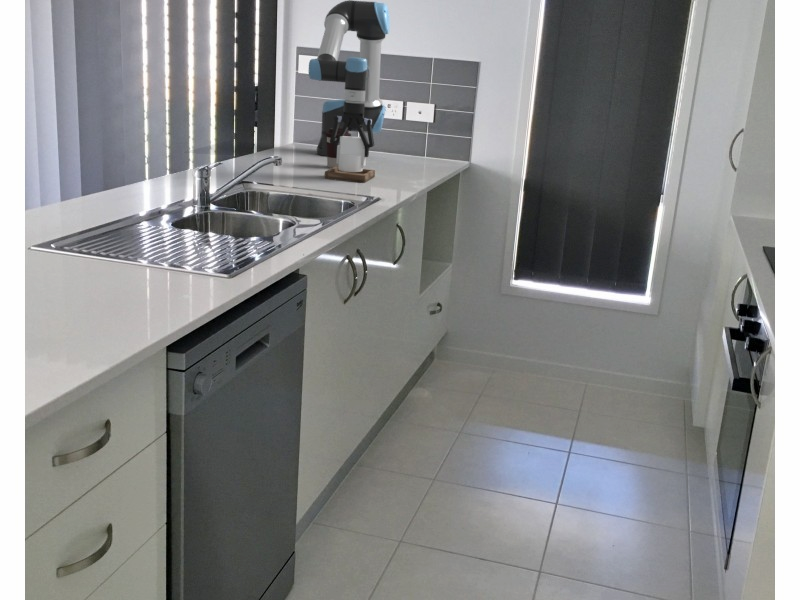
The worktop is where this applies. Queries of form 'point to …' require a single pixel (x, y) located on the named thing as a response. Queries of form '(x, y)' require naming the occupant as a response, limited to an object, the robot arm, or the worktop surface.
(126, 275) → the worktop surface
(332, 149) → the coffee cup
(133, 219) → the worktop surface
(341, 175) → the tray
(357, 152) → the white box
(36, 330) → the worktop surface
